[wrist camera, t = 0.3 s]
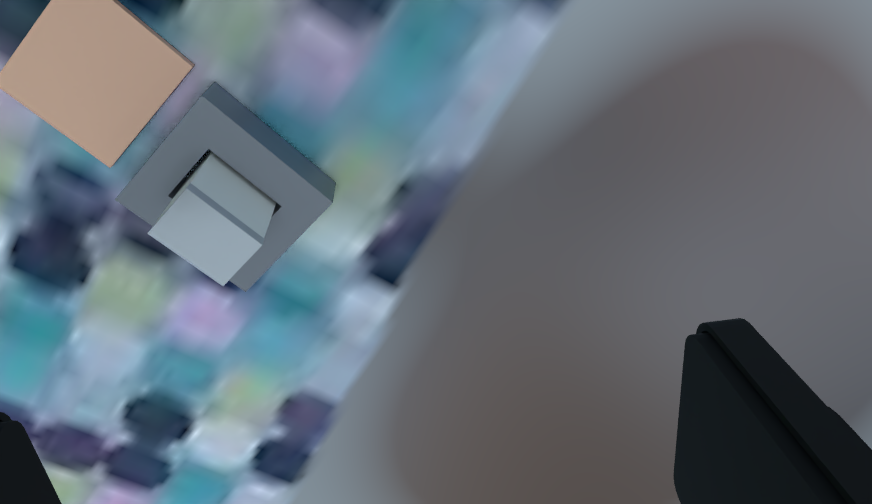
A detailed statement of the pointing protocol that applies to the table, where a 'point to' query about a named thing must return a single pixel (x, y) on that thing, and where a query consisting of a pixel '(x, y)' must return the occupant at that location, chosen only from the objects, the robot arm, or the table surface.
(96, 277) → the table surface
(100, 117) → the mat
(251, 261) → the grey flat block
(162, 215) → the plug
